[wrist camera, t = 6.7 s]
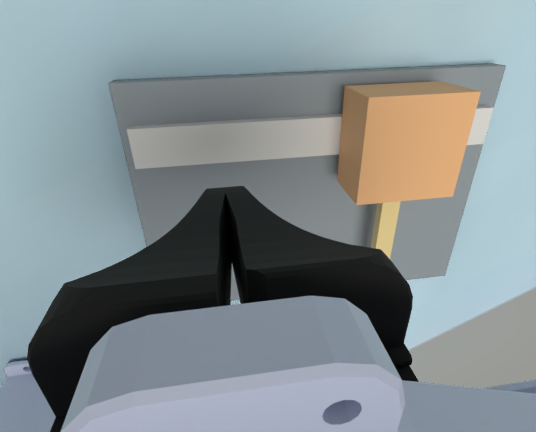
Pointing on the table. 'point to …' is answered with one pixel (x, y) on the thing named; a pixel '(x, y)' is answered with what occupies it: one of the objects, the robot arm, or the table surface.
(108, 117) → the table surface
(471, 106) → the leg
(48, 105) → the table surface
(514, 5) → the table surface
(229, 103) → the plate
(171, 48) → the table surface
